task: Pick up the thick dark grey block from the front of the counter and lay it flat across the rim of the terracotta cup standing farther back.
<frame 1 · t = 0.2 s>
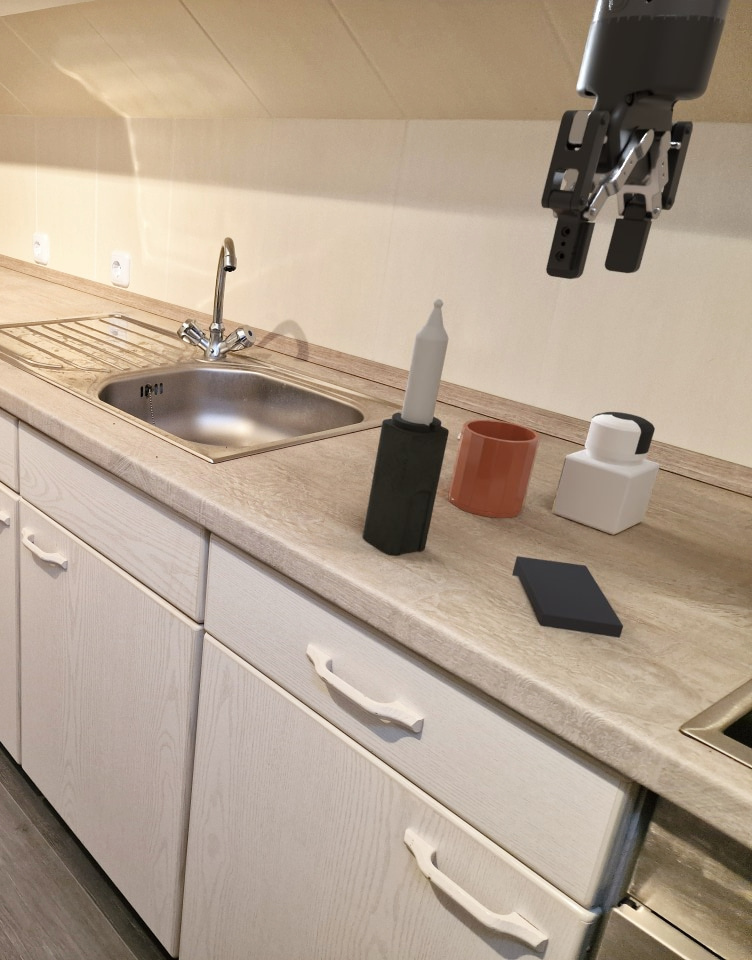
hand: (592, 274, 61), 30 cm above the worktop, tool pointing down, fingers open, 8 cm apart
medicine bottle: (596, 519, 97), on the worktop
cup: (484, 503, 99), on the worktop
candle: (393, 544, 88), on the worktop
dark grey block: (557, 618, 75), on the worktop
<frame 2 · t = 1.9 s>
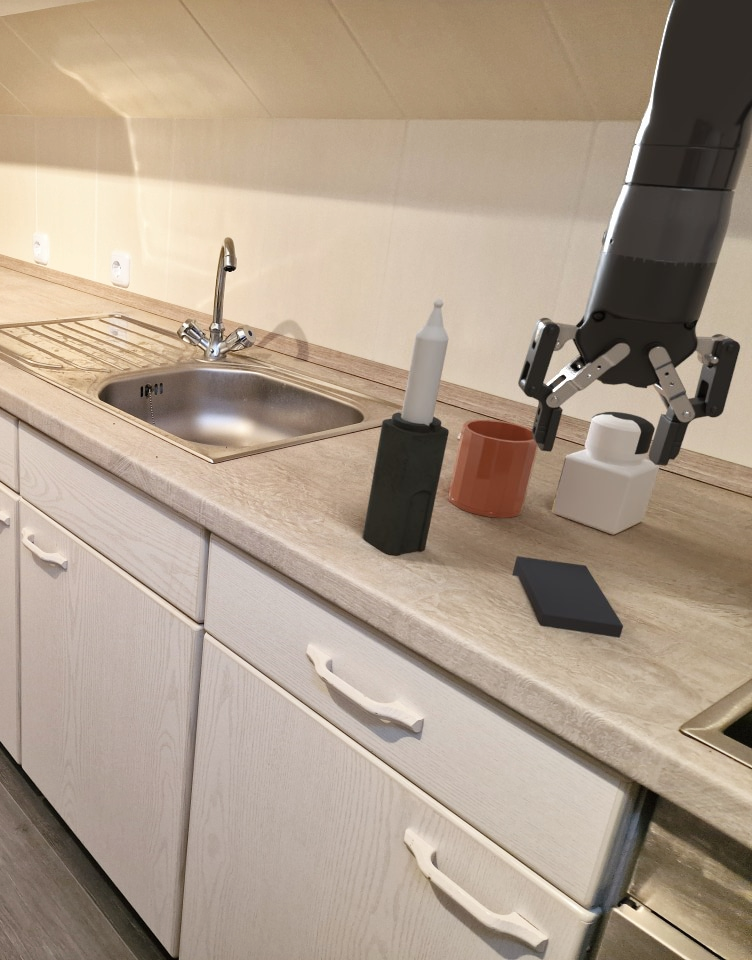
hand: (599, 455, 69), 15 cm above the worktop, tool pointing down, fingers open, 8 cm apart
nothing on the worktop moved.
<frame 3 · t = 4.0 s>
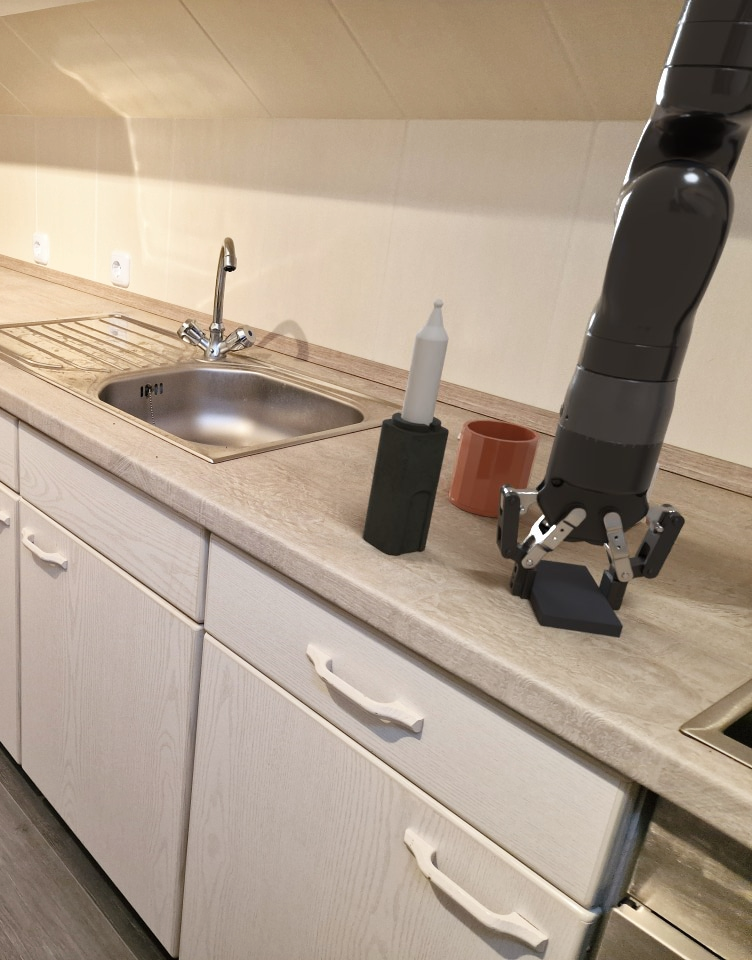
hand: (560, 606, 75), 1 cm above the worktop, tool pointing down, fingers closed on dark grey block, 6 cm apart
dark grey block: (557, 618, 75), on the worktop, touching gripper
everything else where it was.
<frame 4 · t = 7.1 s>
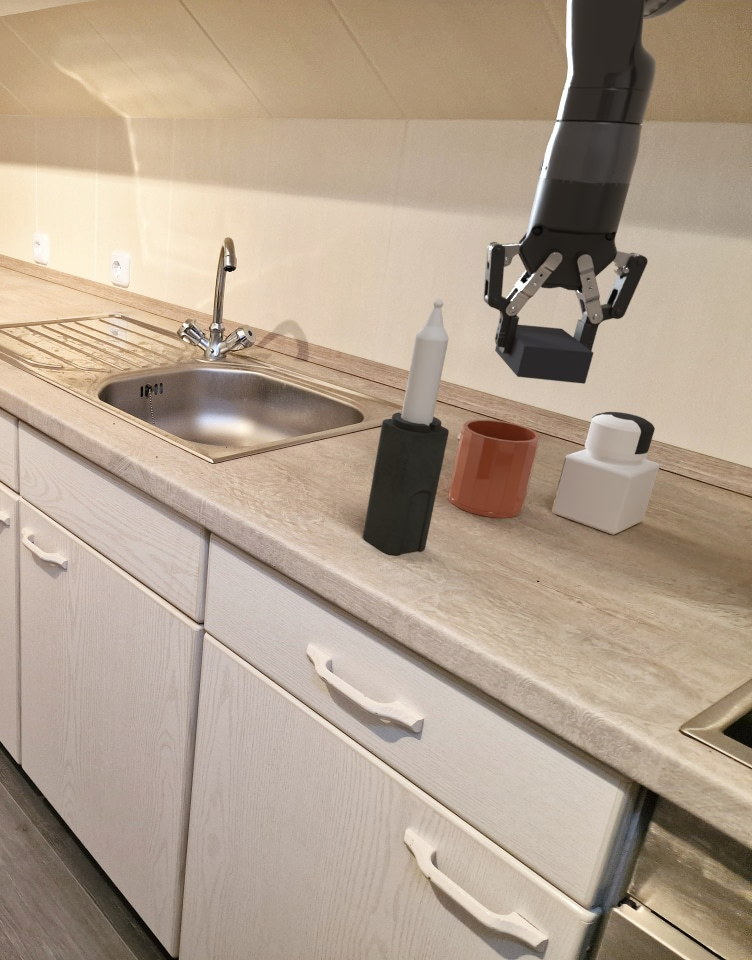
hand: (540, 355, 84), 19 cm above the worktop, tool pointing down, fingers closed on dark grey block, 6 cm apart
dark grey block: (537, 366, 85), point 18 cm above the worktop, touching gripper
everything else where it was.
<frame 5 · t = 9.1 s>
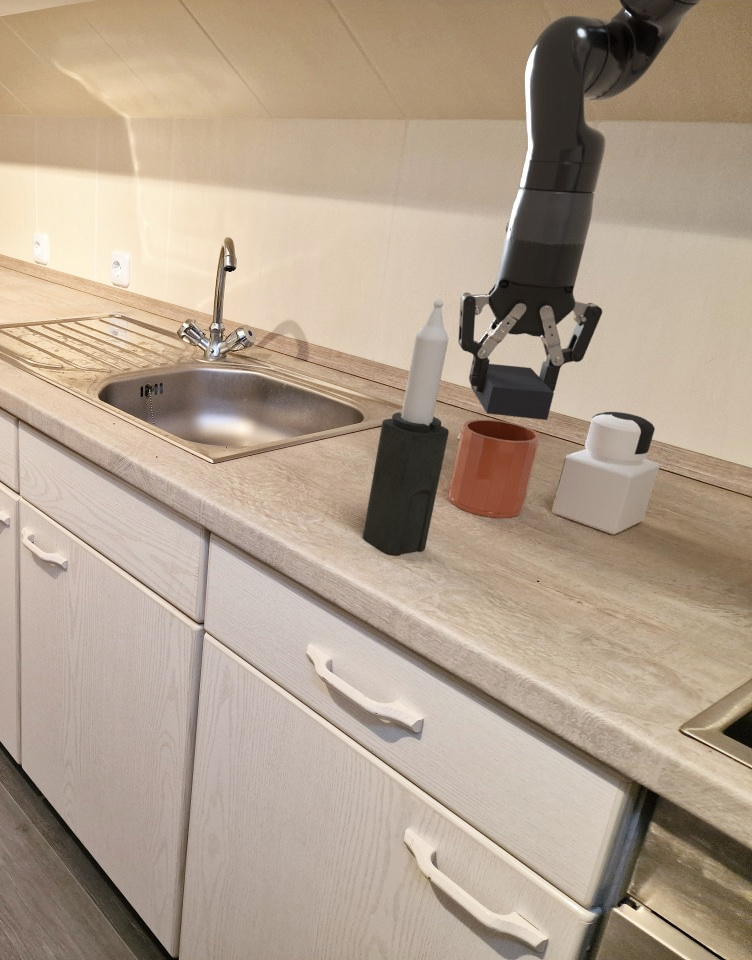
hand: (509, 393, 94), 13 cm above the worktop, tool pointing down, fingers closed on dark grey block, 6 cm apart
dark grey block: (506, 402, 94), point 12 cm above the worktop, touching gripper
everything else where it was.
when the fingers open (10 cm above the worktop, at t = 10.5 s): dark grey block stays where it is, resting on cup.
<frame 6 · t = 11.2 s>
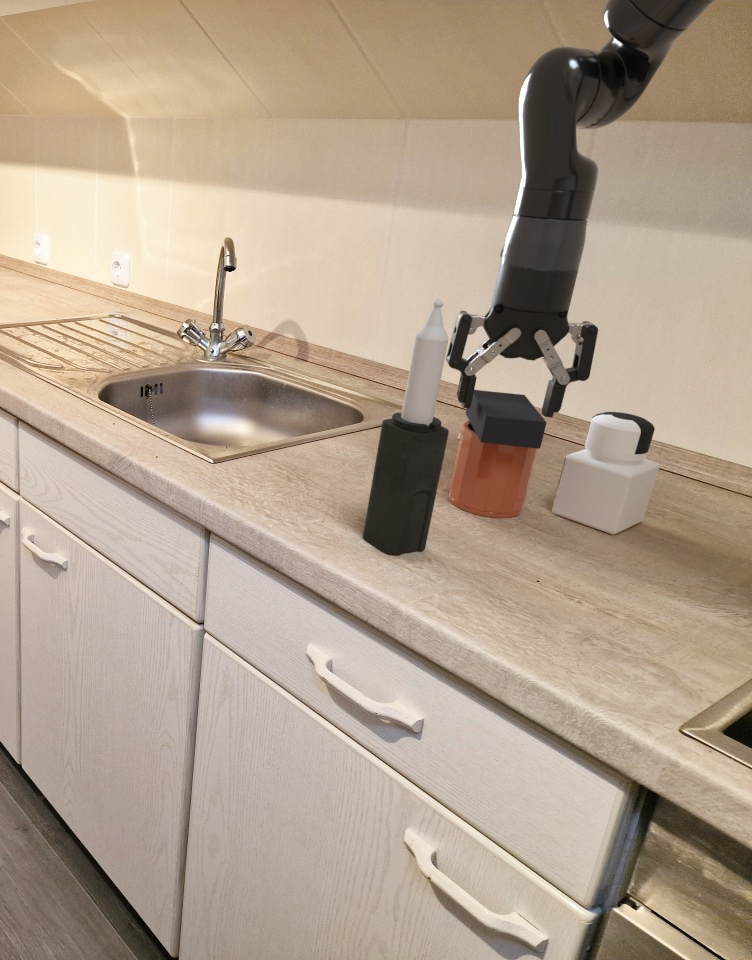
hand: (505, 411, 95), 11 cm above the worktop, tool pointing down, fingers open, 8 cm apart
dark grey block: (500, 430, 96), point 9 cm above the worktop, touching cup
everything else where it was.
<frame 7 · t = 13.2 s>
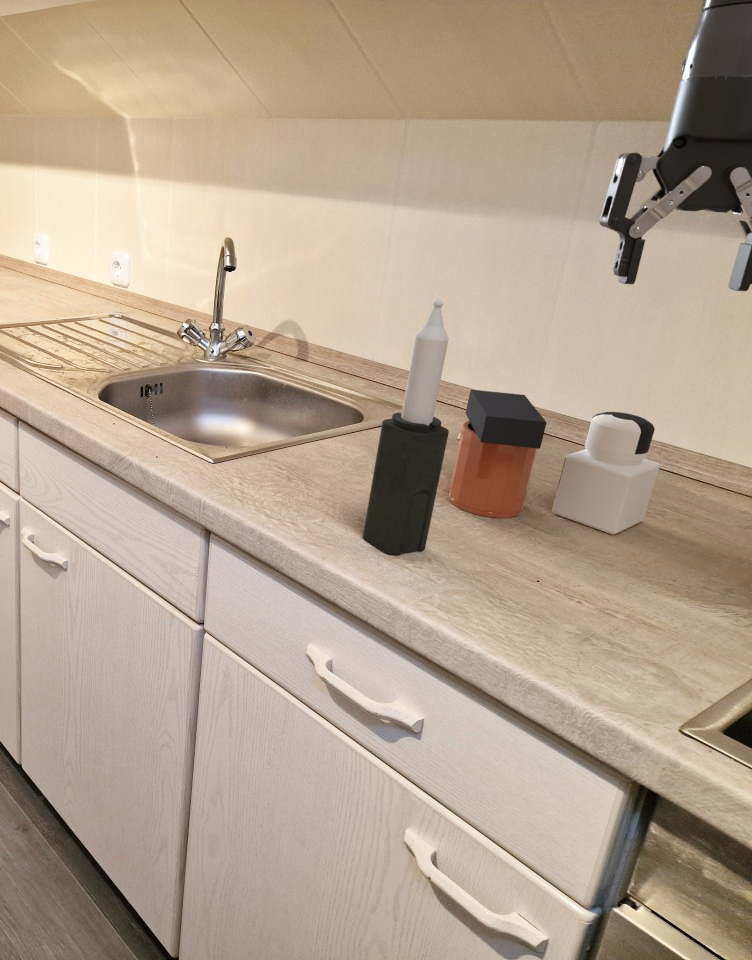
hand: (681, 286, 72), 28 cm above the worktop, tool pointing down, fingers open, 8 cm apart
nothing on the worktop moved.
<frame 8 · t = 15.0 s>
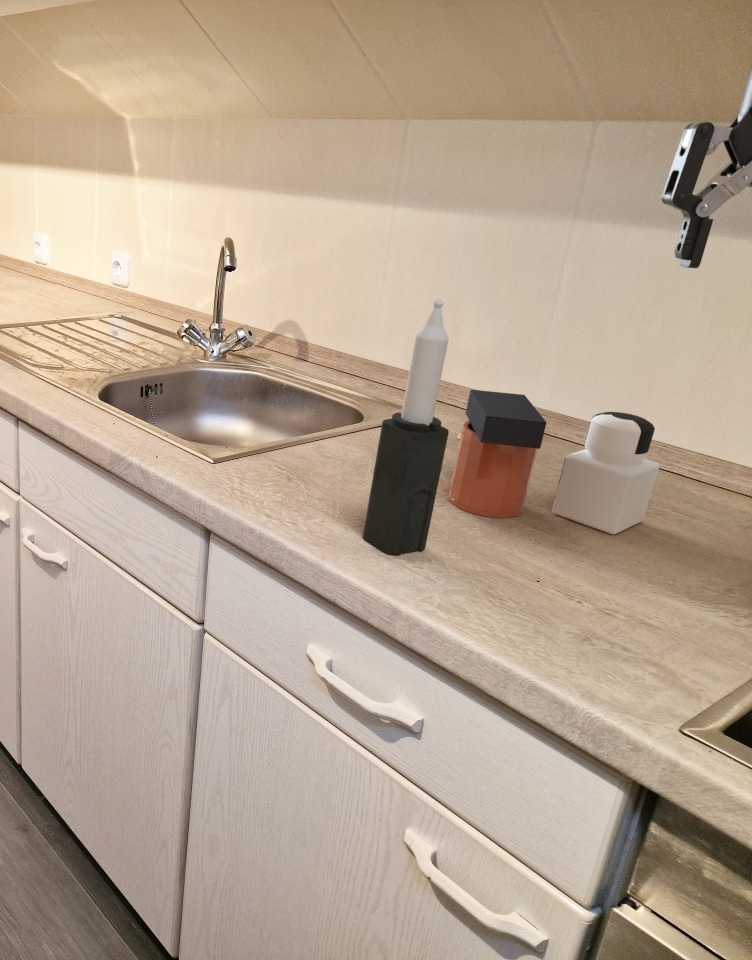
hand: (749, 271, 66), 30 cm above the worktop, tool pointing down, fingers open, 8 cm apart
nothing on the worktop moved.
at the end: dark grey block 0.1 cm off-centre on the cup, point 9.0 cm above the cup's base; dark grey block tilted 0°; the gripper is holding nothing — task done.
